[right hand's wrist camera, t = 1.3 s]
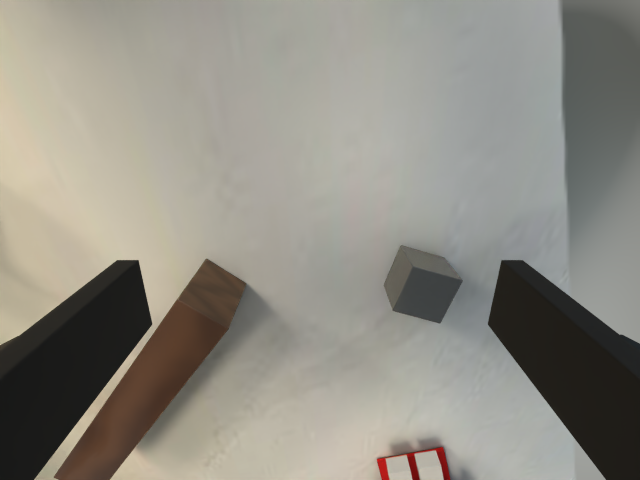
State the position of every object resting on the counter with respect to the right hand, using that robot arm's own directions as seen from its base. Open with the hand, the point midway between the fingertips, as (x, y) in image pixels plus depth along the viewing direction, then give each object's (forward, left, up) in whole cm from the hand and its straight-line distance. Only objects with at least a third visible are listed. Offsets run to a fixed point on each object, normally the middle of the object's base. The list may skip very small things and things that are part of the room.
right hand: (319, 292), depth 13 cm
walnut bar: (-2, -28, -22) cm, 36 cm away
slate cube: (+14, -2, -22) cm, 26 cm away
